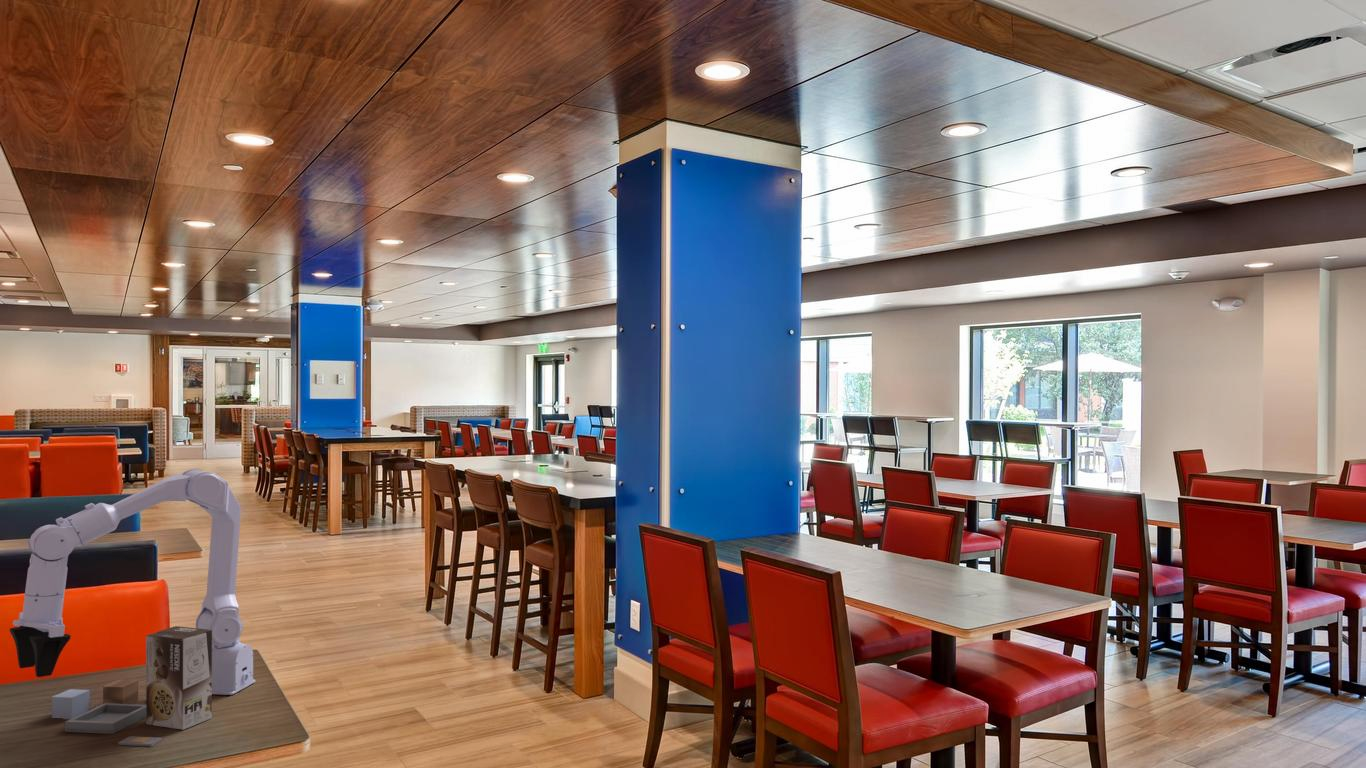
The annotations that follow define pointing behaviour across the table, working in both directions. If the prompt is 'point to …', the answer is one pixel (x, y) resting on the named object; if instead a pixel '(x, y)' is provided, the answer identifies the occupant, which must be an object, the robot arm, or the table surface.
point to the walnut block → (121, 692)
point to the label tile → (140, 741)
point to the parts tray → (106, 718)
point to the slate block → (70, 703)
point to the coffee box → (179, 677)
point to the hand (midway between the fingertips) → (35, 671)
